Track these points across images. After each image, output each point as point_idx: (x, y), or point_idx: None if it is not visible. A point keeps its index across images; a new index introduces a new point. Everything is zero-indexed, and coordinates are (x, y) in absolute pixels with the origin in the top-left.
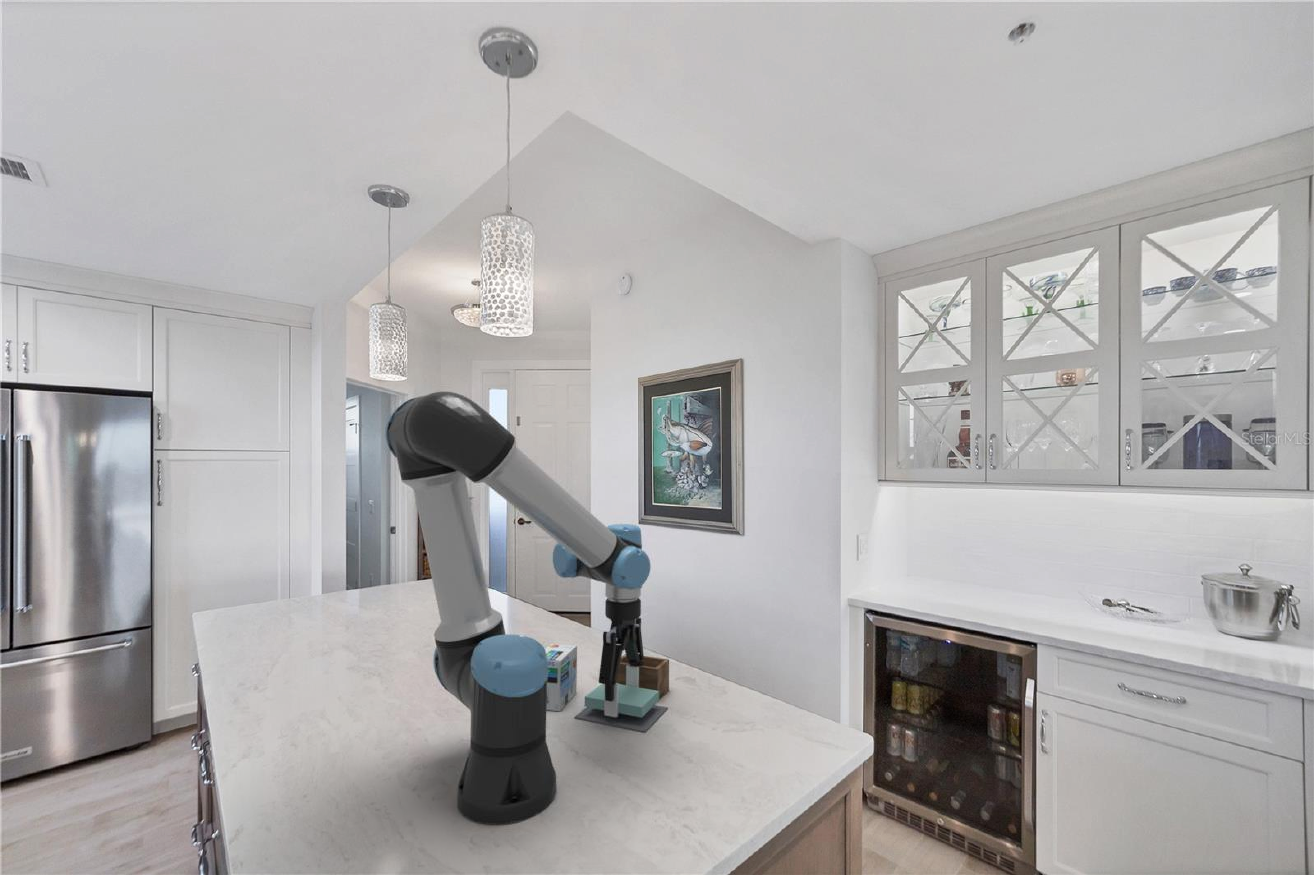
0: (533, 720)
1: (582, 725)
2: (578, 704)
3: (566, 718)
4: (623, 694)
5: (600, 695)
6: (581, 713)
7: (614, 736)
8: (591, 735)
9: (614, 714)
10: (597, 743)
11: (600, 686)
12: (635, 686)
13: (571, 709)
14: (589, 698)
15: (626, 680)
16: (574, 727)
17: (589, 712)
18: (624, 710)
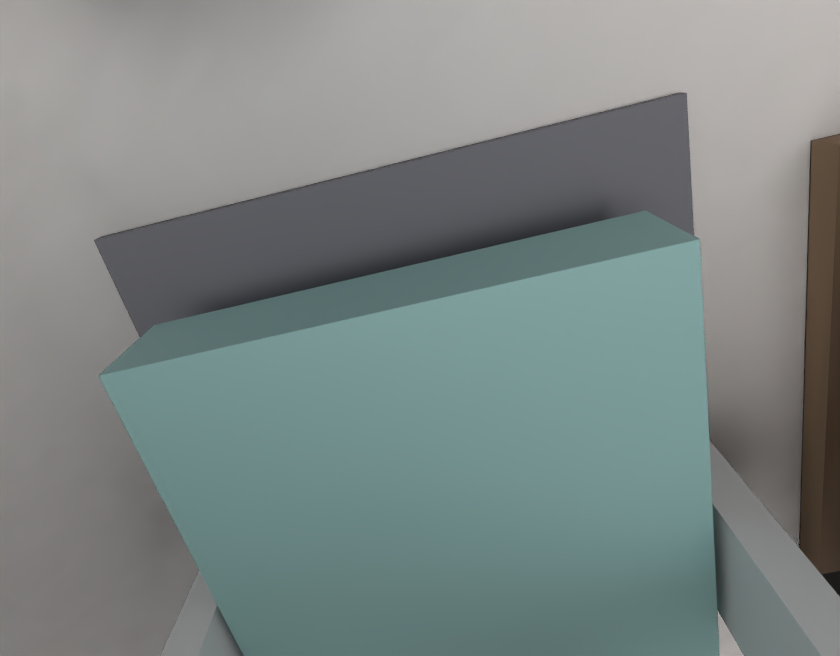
0: None
1: (81, 381)
2: (360, 10)
3: (43, 170)
4: (464, 640)
5: (273, 493)
6: (194, 243)
7: (156, 629)
8: (41, 526)
9: None
10: (9, 611)
11: (500, 314)
12: (729, 613)
13: (213, 46)
14: (136, 430)
15: (757, 566)
16: (5, 356)
17: (265, 289)
18: None
